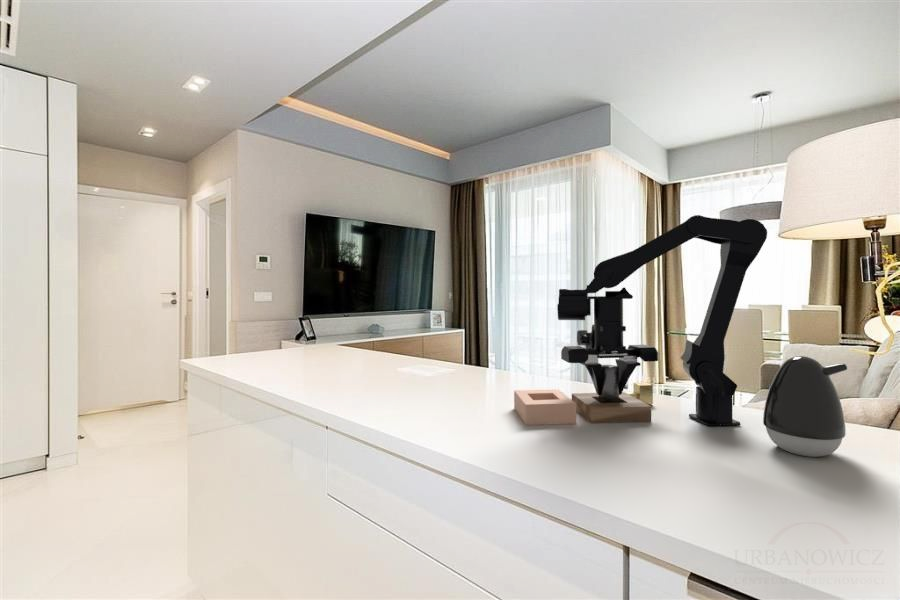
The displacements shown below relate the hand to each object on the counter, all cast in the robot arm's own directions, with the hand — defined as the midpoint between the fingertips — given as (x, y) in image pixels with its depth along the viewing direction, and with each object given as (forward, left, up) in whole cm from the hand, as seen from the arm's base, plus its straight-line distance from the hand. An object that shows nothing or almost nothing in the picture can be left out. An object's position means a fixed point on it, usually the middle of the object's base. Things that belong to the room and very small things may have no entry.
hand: (608, 394), depth 91 cm
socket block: (+1, 0, -4) cm, 4 cm away
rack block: (0, +14, -4) cm, 15 cm away
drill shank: (0, 0, -4) cm, 4 cm away
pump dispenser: (-23, -22, -4) cm, 32 cm away
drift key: (+7, -7, -4) cm, 11 cm away
